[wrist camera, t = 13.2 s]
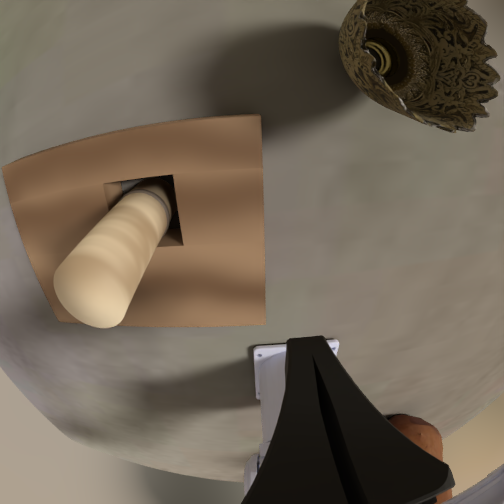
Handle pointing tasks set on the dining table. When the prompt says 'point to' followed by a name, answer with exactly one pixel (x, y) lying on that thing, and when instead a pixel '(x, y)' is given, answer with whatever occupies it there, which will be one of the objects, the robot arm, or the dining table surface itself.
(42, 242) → the walnut board
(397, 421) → the butternut squash
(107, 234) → the birch dowel
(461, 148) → the dining table surface
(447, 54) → the cup
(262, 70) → the dining table surface
